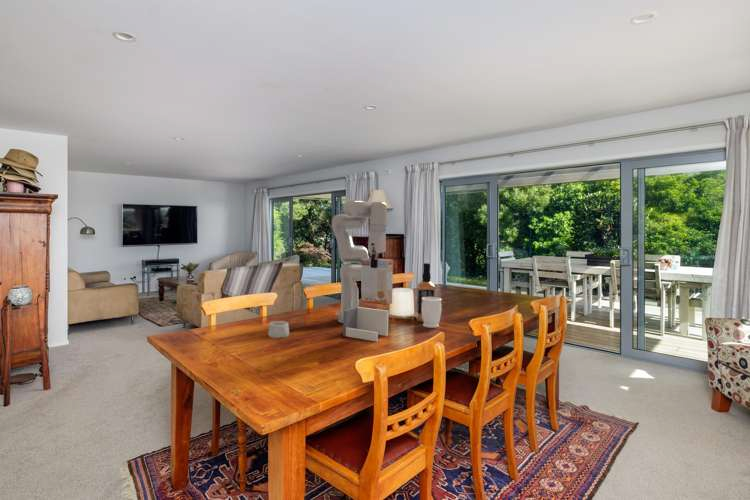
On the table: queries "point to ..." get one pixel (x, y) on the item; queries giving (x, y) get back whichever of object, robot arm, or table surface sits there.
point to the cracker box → (377, 281)
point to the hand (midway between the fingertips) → (377, 266)
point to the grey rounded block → (278, 329)
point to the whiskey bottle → (424, 290)
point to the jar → (431, 311)
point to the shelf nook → (365, 323)
